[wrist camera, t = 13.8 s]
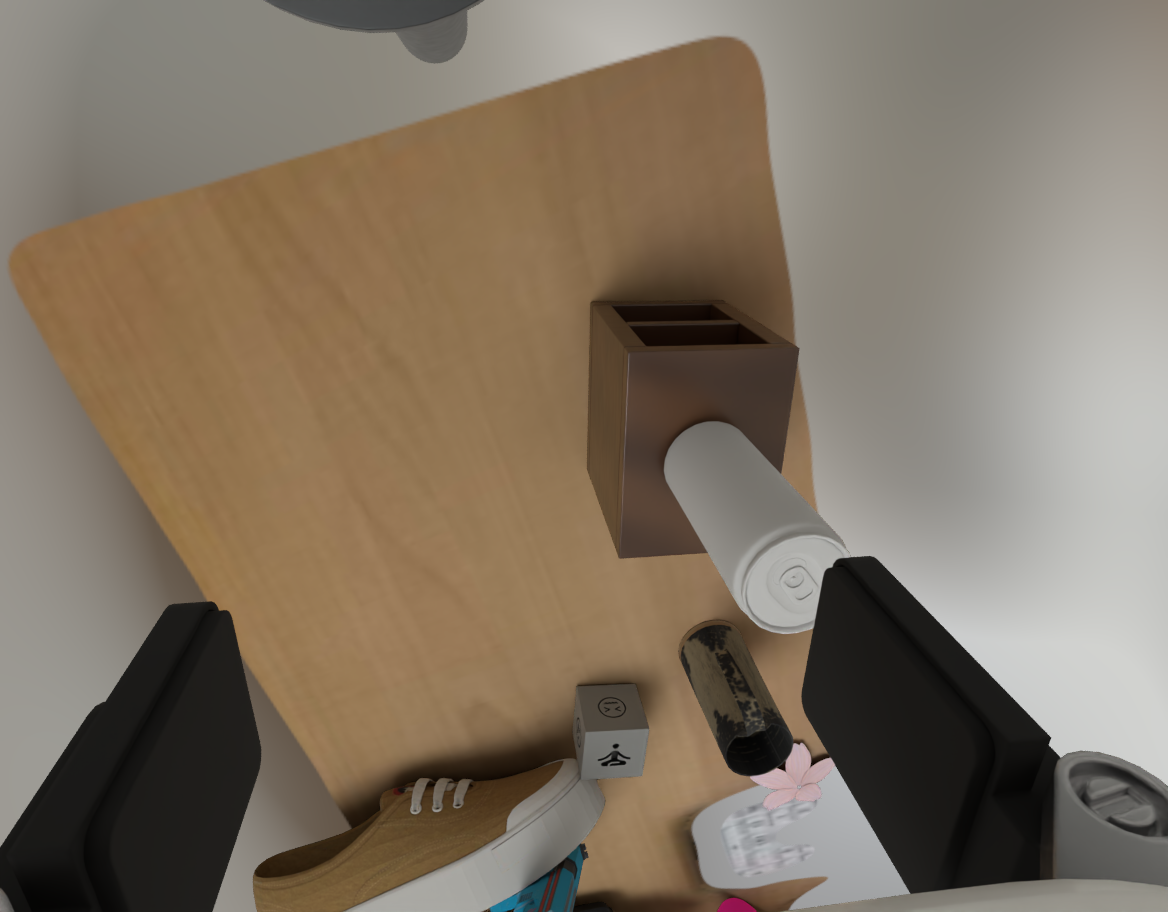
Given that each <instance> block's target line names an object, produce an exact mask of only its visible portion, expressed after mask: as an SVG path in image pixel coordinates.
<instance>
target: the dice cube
mask: <svg viewBox="0 0 1168 912" xmlns="http://www.w3.org/2000/svg"><path fill="white" fill-rule="evenodd" d="M572 733H573V739H574V744H575V750H576V756H577V761H578V767H579V773H580V779H581V780H591V779H606V778H621V777H636V776H642V774H643V767H644V761H645V754H646V747H647V741H648V734H649V726H648V723H647V720H646V716H645V713H644V710H643V707H642V703H641V700H640V697H639V694H638V690H637V687H636V684H621V685H598V686H577V688H576V699H575V710H574V720H573V731H572Z"/></svg>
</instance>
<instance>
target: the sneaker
mask: <svg viewBox="0 0 1168 912" xmlns="http://www.w3.org/2000/svg"><path fill="white" fill-rule="evenodd" d="M604 805H605V797H604V796H603V794H602V792H601V790H600V788H599V786H598V784H597V779H591V780H581V779H580V773H579V767H578V761H577V760H576V759H573V758H570V759H561V760H557V761H553V762H551V763H548V764H546V765H543V766H541V767H539V768H536V769H534V770H530V771H527V772H524V773H520V774H517V775H514V776H510V777H506V778H502V779H496V780H488V781H475V782H474V781H473V780H471V779H462V780H460V781H459V782H454V781H453V780H452V779H446V778H441V779H439V780H438V781H437V782H434V781H433V780H432V779H428V778H420V779H419V780H418V781H417V782H411V783H407V784H406V785H405V786H404V787H397V788H394V789H390V790H387V791H385V792H384V793H383V794H382V796H381V799H380V810H379V811H378V812H377V813H375V814H374V815H373V816H371V817H370V818H369V819H367V820H366V821H365V822H363V823H362V824H361V825H359V826H357V827H355V828H353V829H351V830H349V831H346V832H344V833H342V834H339V835H336V836H334V837H330V838H328V839H325V840H321V841H318V842H315V843H312V844H308V845H305V846H302V847H298V848H295V849H292V850H289V851H286V852H282V853H279V854H277V855H275V856H272V857H270V858H268V859H266V860H265V861H264V862H262V863H261V864H260V865H259V866H258V867H257V868H256V870H255V872H254V875H253V892H254V898H255V904H256V909H257V912H482V911H484V910H486V909H488V908H490V907H492V906H494V905H496V904H498V903H500V902H501V901H503V900H505V899H507V898H509V897H511V896H512V895H514V894H516V893H518V892H519V891H521V890H523V889H524V888H526V887H527V886H528V885H530V884H531V883H533V882H534V881H536V880H537V879H539V878H540V877H542V876H543V875H544V874H546V873H547V872H549V871H550V870H551V869H552V868H554V867H555V866H556V865H558V864H559V863H560V862H561V861H563V860H564V859H565V858H566V857H567V856H568V855H569V854H570V853H571V852H572V851H574V850H575V849H576V848H577V846H578V845H579V844H580V843H581V842H582V841H583V840H584V839H585V838H586V837H587V835H588V834H589V833H590V831H591V830H592V828H593V827H594V826H595V824H596V822H597V820H598V819H599V817H600V815H601V813H602V810H603V808H604Z"/></svg>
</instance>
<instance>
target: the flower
mask: <svg viewBox="0 0 1168 912" xmlns="http://www.w3.org/2000/svg"><path fill="white" fill-rule="evenodd" d="M810 765H811V756H810V753H809V751H808V749H807V748H806V746H805V745H804V744H803V743H800V745H798V744H796V743H794V744H793V748H792V752H791V754H790V755H789V757H788V759H787V760H786V772H787V773H786V772H785V771H783V770H781V769H778V768H776V769H775V770H773V771H771V772H768V773H766V774H762V775H758V776H751V777H750V778H751V779H752V780H753V781H754V782H756V783H758V784H760V785H762V786H764V787H766V788H770V789H774V790H777V791H775V792H772V793H770V794H769V795H767V796H766V798H765V799H764V801H763V807H764V808H765V807H767V810H772V809H775V808H777V807H779V806H781V805H783V804H785V803H787V802H789V801H790V800H792V799H793V798H794V797H795V798H796V799H797V800H798V801H815V800H816V799H820V798H821V795H822V793H821V789H820V787H819V786H818V785H817V784H816V783H818V782H819V781H821V780H822V779H824V778H825V777H826V776H827V775H828V774H829V772H830V771H831V770H832V769H833V767H834V766H835V764H834V762H833V761H832V759H831V758H827V759H824V760H822V761H820V762H818V763H816V764H815V765H813V766H812V767H810ZM800 785H801V788H800V789H798V788H797V787H798V786H800Z"/></svg>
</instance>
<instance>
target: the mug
mask: <svg viewBox="0 0 1168 912" xmlns="http://www.w3.org/2000/svg"><path fill="white" fill-rule="evenodd" d="M678 652H679V658H680V660H681V662H682V665H683V667H684V669H685V672H686V674H687V676H688V679H689V681H690V683H691V685H692V688H693V690H694V692H695V695H696V697H697V699H698V701H699V704H700V706H701V708H702V710H703V713H704V715H705V717H706V719H707V722H708V724H709V726H710V728H711V731H712V733H713V735H714V737H715V739H716V742H717V744H718V746H719V748H720V750H721V753H722V755H723V757H724V759H725V761H726V763H727V765H728V767H729V768H730V769H731V770H732V771H733V772H735V773H737V774H739V775H743V776H758V775H762V774H766V773H768V772H771V771H773V770H775V769H776V768H778V767H779V766H780V765H782V764H783V763H784V762H785V761H786V760H787V759H788V757H789V755H790V754H791V752H792V748H793V737H792V735H791V733H790V731H789V729H788V727H787V725H786V723H785V721H784V720H783V718H782V716H781V714H780V712H779V710H778V708H777V706H776V704H775V702H774V700H773V698H772V697H771V695H770V693H769V691H768V689H767V687H766V685H765V683H764V681H763V679H762V677H761V675H760V673H759V671H758V669H757V667H756V665H755V663H754V661H753V659H752V657H751V655H750V653H749V651H748V649H747V647H746V644H745V642H744V640H743V638H742V636H741V634H740V632H739V630H738V629H737V628H736V627H735V626H734V625H732V624H730V623H729V622H725V621H721V620H711V621H707V622H703V623H701V624H699V625H697V626H695V627H693V628H692V629H691V630H689V631H688V632H687V634H686V635H685V636H684V637H683V639H682V641H681V643H680V646H679V651H678Z"/></svg>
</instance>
